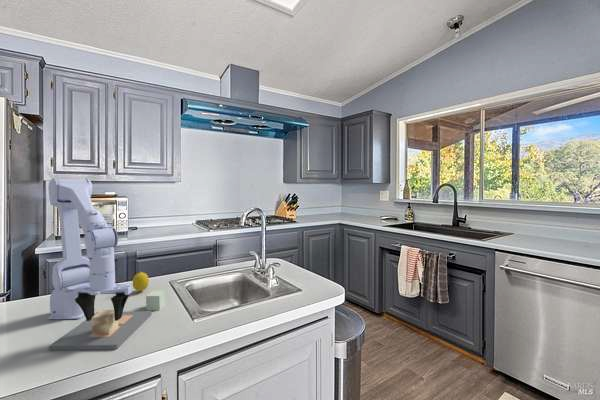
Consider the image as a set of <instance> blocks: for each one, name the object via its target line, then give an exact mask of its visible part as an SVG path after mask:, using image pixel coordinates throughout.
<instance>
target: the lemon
mask: <svg viewBox="0 0 600 400" xmlns="http://www.w3.org/2000/svg"><path fill="white" fill-rule="evenodd" d="M149 279H150V278H149V276H148V274H147V273H145V272H143V271H139V272H137V273H136V274H135V275H134V276H133V278H132V287H133V289H134V290H135V291H138V292H140V293H142V292H143V291H145V290H147V288H148V286H149V281H150V280H149Z"/></svg>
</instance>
